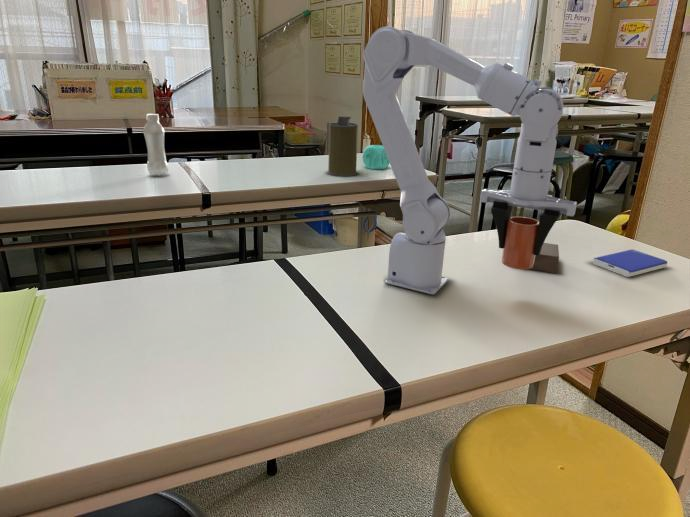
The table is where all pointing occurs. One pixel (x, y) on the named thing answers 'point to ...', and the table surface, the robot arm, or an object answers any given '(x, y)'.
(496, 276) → the table surface
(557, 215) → the robot arm
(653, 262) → the hard drive
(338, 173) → the canister
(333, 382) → the table surface
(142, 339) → the table surface
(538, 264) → the block
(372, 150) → the decorative dice
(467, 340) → the table surface
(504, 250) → the cup
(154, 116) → the plastic bottle
